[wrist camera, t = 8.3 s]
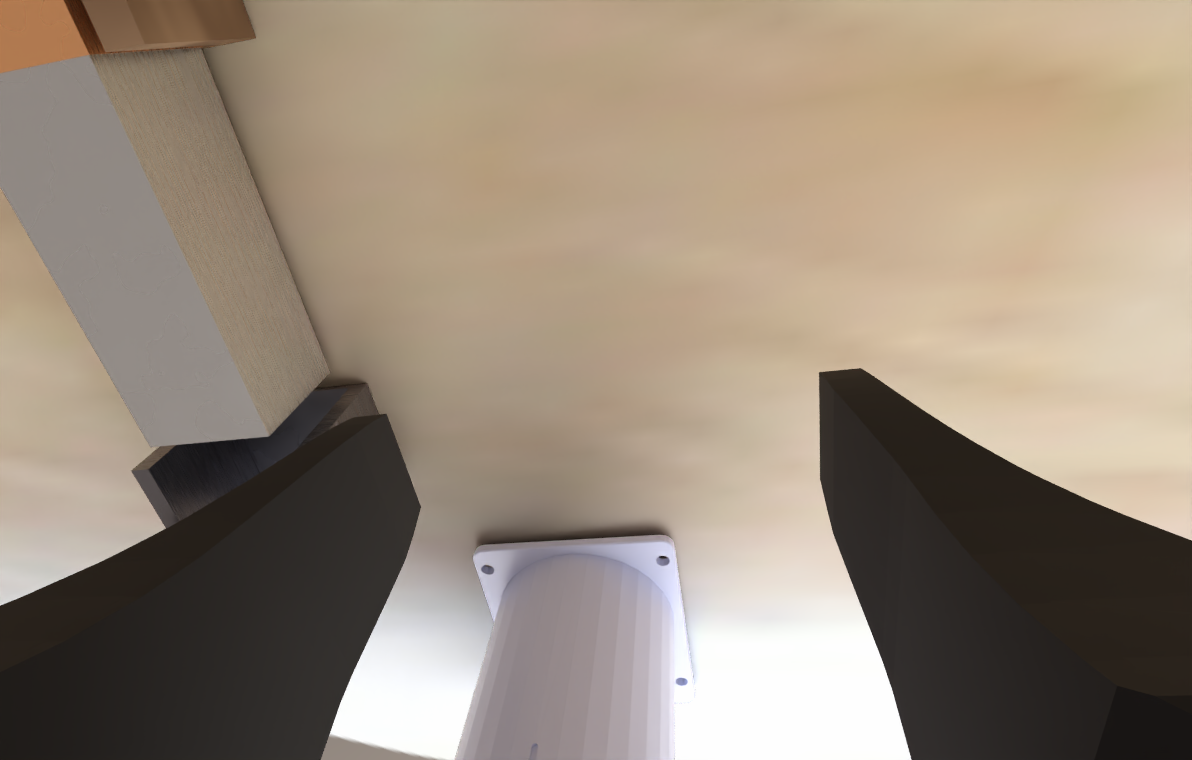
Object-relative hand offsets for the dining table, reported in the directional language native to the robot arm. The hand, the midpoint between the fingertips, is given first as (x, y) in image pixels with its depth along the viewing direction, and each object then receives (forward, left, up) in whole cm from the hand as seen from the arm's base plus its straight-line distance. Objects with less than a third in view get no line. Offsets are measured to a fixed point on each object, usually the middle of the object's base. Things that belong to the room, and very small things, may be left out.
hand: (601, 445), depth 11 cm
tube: (+3, +13, -10) cm, 17 cm away
